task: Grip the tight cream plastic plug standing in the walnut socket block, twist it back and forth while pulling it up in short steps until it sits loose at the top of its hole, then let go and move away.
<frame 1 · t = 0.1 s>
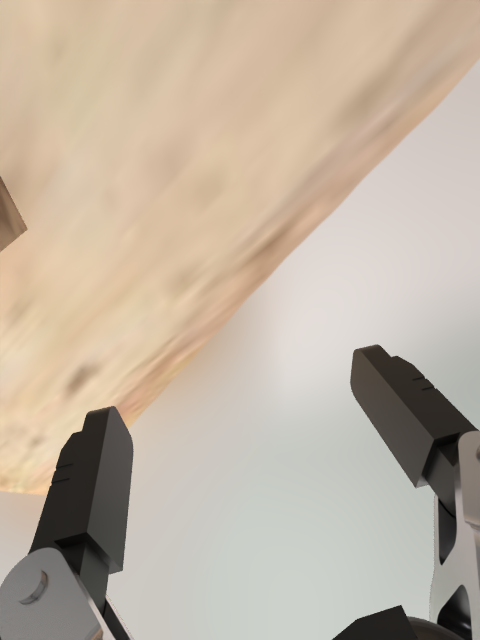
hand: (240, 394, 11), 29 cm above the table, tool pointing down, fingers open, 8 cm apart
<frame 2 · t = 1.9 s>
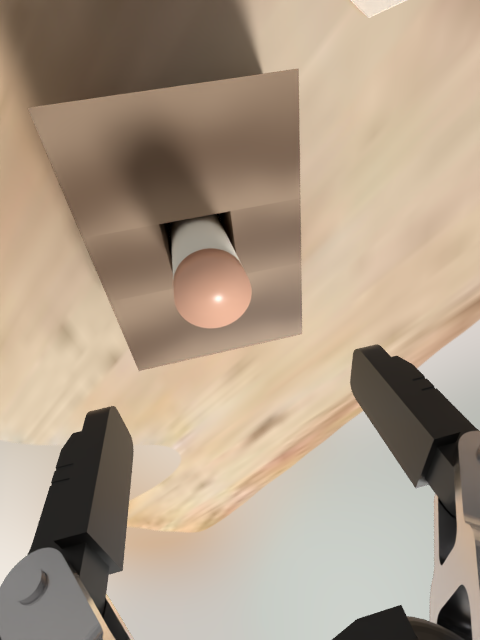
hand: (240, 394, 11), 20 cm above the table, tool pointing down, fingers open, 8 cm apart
socket block: (194, 221, 27), on the table
plug: (201, 250, 21), point 7 cm above the table, slide at 0.0 cm
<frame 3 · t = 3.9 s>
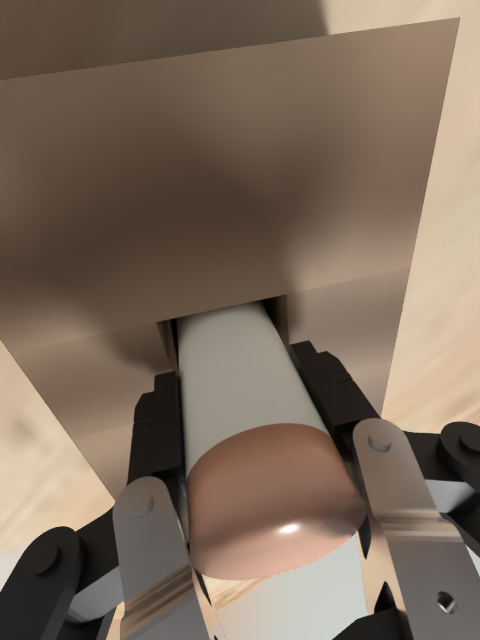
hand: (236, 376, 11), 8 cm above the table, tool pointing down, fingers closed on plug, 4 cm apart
socket block: (210, 279, 18), on the table
plug: (230, 354, 12), point 7 cm above the table, slide at 0.0 cm, touching gripper
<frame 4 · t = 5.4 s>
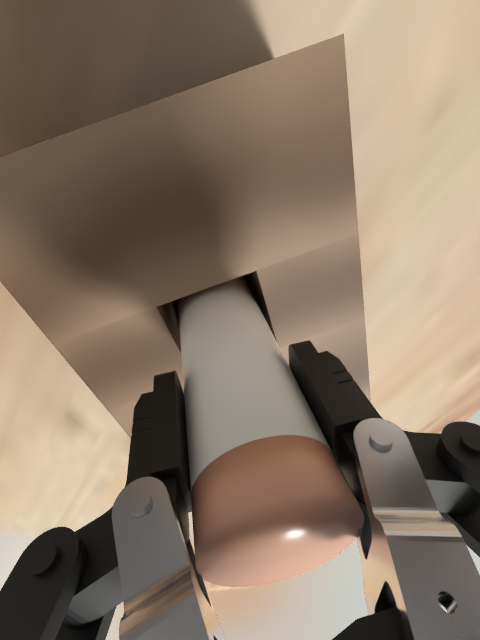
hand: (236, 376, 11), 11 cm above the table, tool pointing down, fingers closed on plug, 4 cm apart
socket block: (206, 271, 21), on the table
plug: (232, 365, 13), point 10 cm above the table, slide at 2.8 cm, touching gripper
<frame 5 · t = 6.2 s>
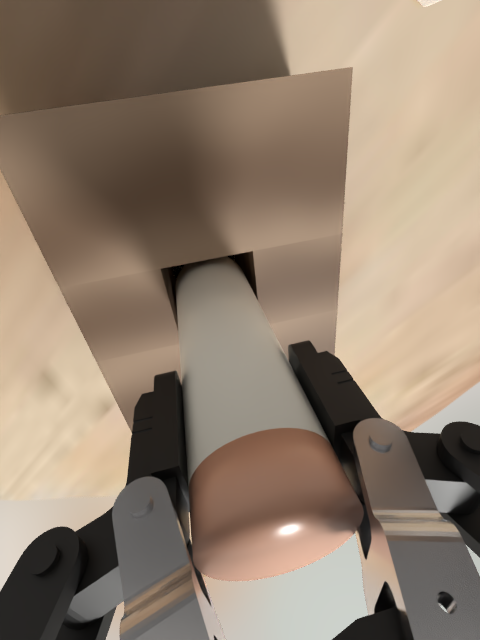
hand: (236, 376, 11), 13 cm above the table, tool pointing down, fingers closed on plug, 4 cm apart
socket block: (202, 253, 22), on the table
plug: (231, 359, 13), point 12 cm above the table, slide at 5.2 cm, touching gripper
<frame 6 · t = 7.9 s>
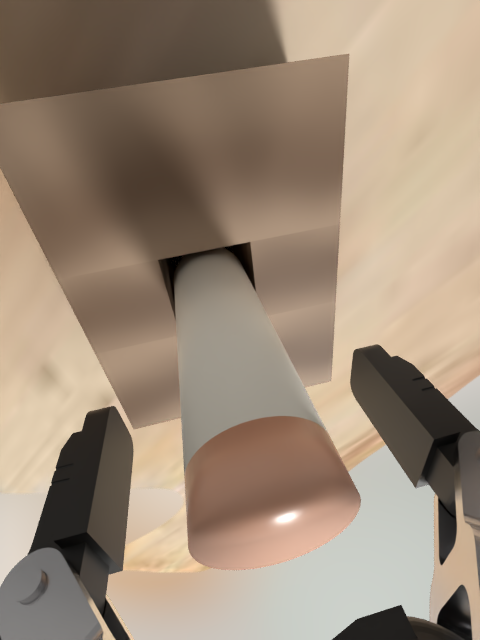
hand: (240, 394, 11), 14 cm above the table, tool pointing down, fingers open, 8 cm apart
socket block: (200, 246, 22), on the table
plug: (229, 351, 12), point 12 cm above the table, slide at 5.3 cm
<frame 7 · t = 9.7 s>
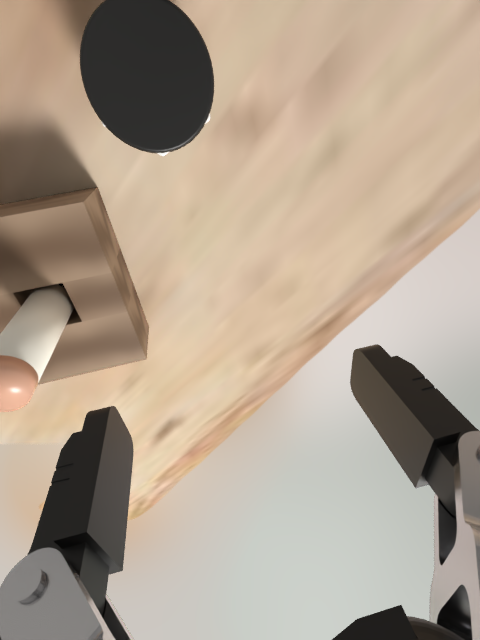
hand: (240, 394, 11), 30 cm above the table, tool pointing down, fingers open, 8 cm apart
socket block: (67, 278, 37), on the table
jar: (155, 93, 30), on the table
plug: (31, 337, 27), point 12 cm above the table, slide at 5.3 cm
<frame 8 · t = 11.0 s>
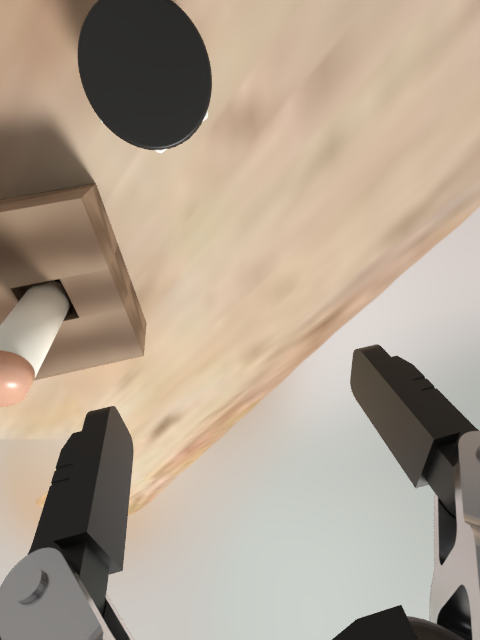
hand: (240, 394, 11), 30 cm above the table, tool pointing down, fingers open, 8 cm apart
socket block: (64, 274, 37), on the table
jar: (153, 89, 30), on the table
plug: (28, 333, 27), point 12 cm above the table, slide at 5.3 cm
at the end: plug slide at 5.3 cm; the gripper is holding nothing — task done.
